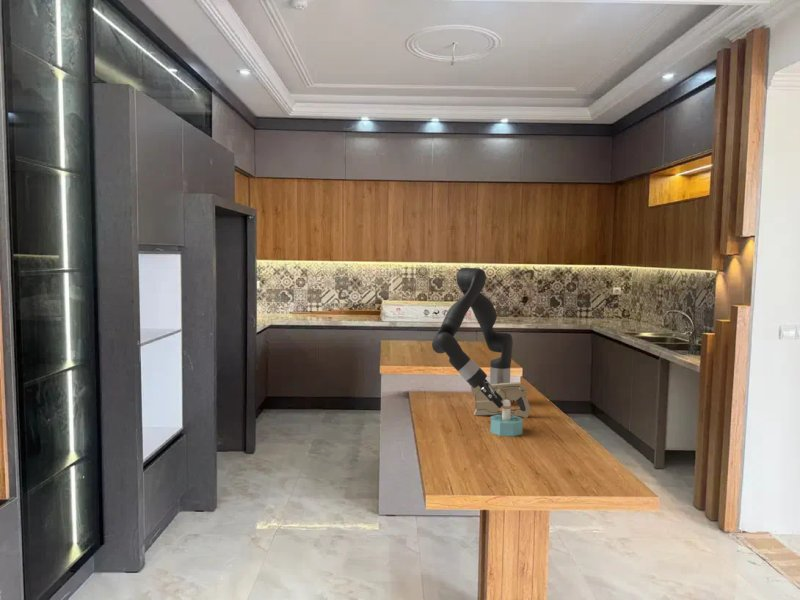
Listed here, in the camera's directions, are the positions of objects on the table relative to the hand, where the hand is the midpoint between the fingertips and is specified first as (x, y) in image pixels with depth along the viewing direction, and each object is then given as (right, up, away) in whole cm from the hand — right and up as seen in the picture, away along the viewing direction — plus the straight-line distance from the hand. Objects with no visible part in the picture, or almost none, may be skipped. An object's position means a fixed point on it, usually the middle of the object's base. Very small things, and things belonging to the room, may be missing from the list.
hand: (501, 403), depth 221 cm
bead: (+2, -11, 0) cm, 11 cm away
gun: (+3, -10, +22) cm, 25 cm away
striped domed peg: (+2, -11, +1) cm, 11 cm away
